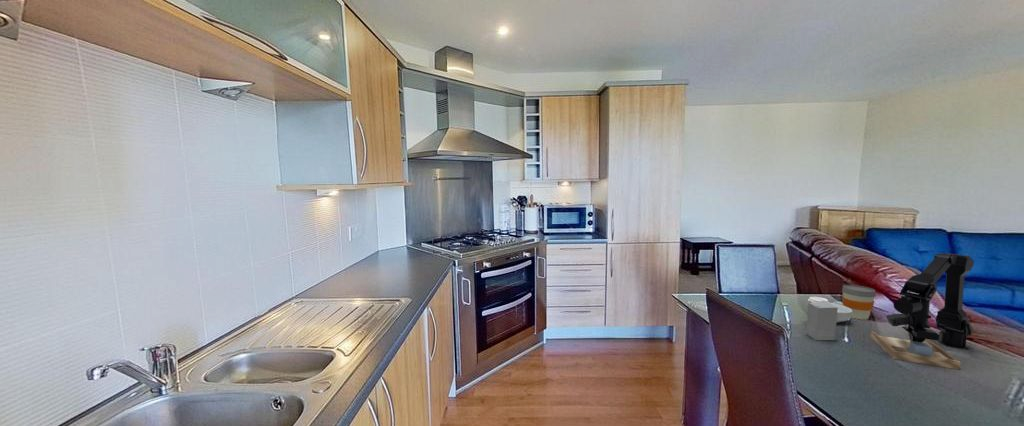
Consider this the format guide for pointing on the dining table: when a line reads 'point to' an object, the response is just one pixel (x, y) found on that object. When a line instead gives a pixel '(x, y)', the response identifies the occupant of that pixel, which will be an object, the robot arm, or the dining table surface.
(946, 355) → the tray
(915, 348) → the slate block
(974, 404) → the dining table surface
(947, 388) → the dining table surface
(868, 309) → the reusable coffee cup
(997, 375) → the dining table surface
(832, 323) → the skincare box
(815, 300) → the paper cup
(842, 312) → the cereal bowl
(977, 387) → the dining table surface
